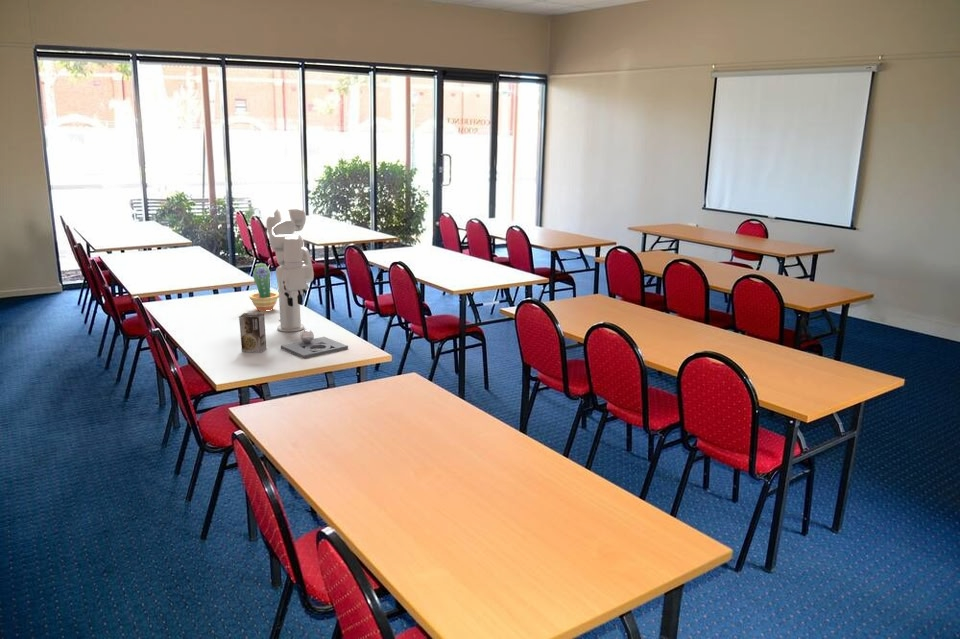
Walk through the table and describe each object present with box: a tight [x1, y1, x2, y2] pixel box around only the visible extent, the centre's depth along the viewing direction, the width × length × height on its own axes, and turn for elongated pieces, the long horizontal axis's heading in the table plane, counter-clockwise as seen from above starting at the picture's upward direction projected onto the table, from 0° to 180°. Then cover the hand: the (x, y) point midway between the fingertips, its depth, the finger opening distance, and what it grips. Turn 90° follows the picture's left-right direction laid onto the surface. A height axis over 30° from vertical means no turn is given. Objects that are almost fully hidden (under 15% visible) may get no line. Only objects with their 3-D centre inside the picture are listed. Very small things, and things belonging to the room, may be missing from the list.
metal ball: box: [299, 329, 315, 343], centre depth 327 cm, size 6×6×6 cm
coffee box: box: [238, 312, 267, 353], centre depth 319 cm, size 9×6×16 cm
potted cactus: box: [248, 263, 279, 311], centre depth 390 cm, size 15×15×25 cm
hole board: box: [280, 336, 349, 360], centre depth 324 cm, size 20×22×2 cm
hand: (295, 304), depth 330 cm, fingers open, 4 cm apart
